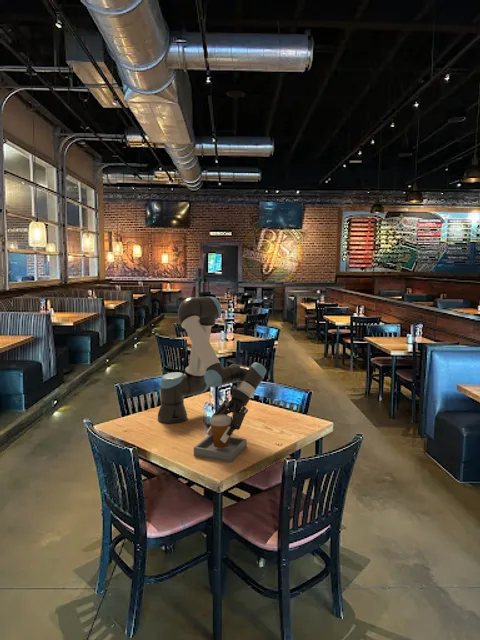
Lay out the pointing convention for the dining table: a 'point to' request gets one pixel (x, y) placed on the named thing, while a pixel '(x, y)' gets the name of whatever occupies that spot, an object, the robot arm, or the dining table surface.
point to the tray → (220, 449)
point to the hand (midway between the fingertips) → (215, 438)
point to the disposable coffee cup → (220, 429)
